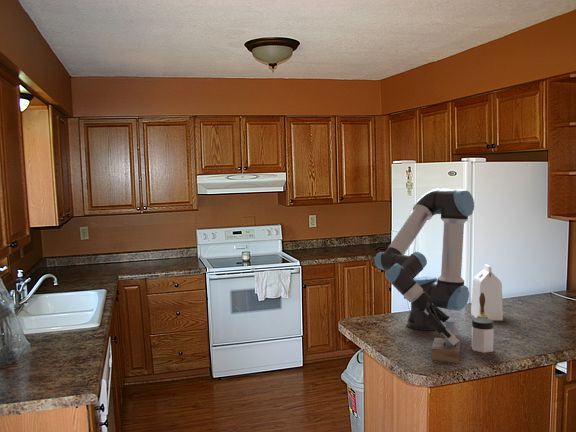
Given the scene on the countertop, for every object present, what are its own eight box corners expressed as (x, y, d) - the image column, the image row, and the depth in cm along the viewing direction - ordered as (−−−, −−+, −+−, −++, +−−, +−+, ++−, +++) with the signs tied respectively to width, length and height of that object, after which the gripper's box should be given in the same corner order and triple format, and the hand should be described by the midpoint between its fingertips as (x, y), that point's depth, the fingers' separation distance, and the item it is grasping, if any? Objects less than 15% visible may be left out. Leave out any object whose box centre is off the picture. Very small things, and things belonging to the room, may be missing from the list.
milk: (502, 320, 254) (504, 267, 252) (479, 320, 254) (480, 267, 252) (493, 313, 266) (494, 263, 264) (470, 313, 266) (471, 263, 264)
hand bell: (471, 328, 242) (472, 294, 241) (474, 323, 250) (474, 290, 248) (490, 330, 238) (491, 295, 237) (492, 325, 246) (493, 292, 244)
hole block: (434, 348, 215) (434, 337, 215) (460, 350, 211) (460, 340, 211) (431, 359, 202) (431, 348, 201) (458, 362, 198) (458, 351, 198)
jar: (497, 349, 213) (497, 320, 212) (489, 354, 207) (489, 324, 206) (475, 344, 219) (476, 316, 218) (467, 349, 213) (467, 320, 212)
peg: (445, 353, 208) (446, 319, 206) (453, 354, 207) (454, 320, 205) (445, 356, 205) (445, 322, 203) (453, 357, 204) (454, 323, 202)
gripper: (414, 296, 221) (451, 335, 217) (406, 310, 199) (447, 354, 195) (427, 284, 219) (465, 323, 215) (420, 297, 196) (463, 341, 192)
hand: (457, 338), depth 205 cm, fingers open, 11 cm apart
